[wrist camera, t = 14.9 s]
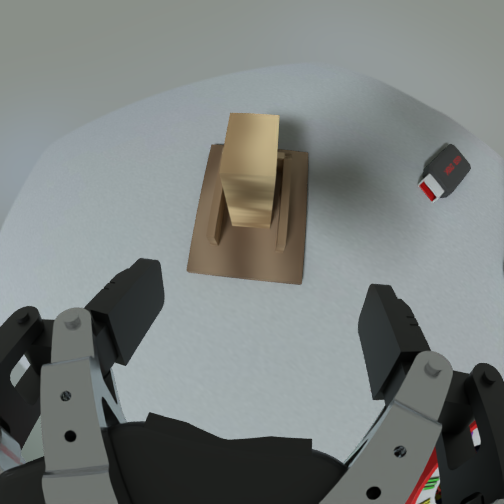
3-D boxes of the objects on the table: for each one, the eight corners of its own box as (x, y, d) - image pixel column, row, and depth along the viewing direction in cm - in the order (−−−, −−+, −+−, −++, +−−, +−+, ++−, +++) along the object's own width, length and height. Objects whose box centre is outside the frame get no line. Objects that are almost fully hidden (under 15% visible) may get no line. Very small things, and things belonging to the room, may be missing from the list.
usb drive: (465, 173, 33) (474, 165, 30) (435, 209, 31) (445, 201, 29) (445, 148, 34) (453, 140, 31) (411, 180, 32) (421, 171, 30)
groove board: (306, 157, 33) (311, 138, 29) (300, 284, 29) (306, 278, 25) (212, 148, 33) (207, 129, 30) (188, 272, 29) (178, 264, 26)
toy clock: (528, 409, 17) (473, 517, 12) (505, 405, 23) (457, 505, 18) (453, 415, 19) (379, 543, 14) (427, 404, 25) (366, 522, 20)
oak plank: (273, 179, 31) (279, 115, 20) (269, 228, 29) (275, 176, 19) (238, 177, 31) (230, 112, 20) (232, 225, 30) (219, 172, 19)
